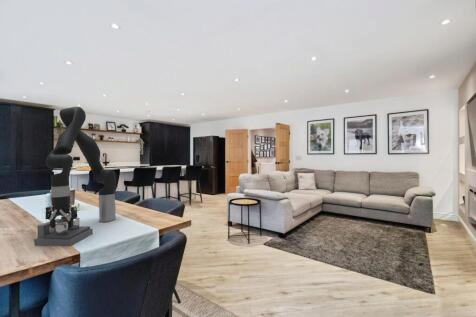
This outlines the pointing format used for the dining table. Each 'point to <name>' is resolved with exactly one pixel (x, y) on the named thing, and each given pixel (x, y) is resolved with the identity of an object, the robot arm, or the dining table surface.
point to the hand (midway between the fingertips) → (61, 227)
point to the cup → (64, 219)
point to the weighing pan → (69, 235)
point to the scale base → (46, 229)
